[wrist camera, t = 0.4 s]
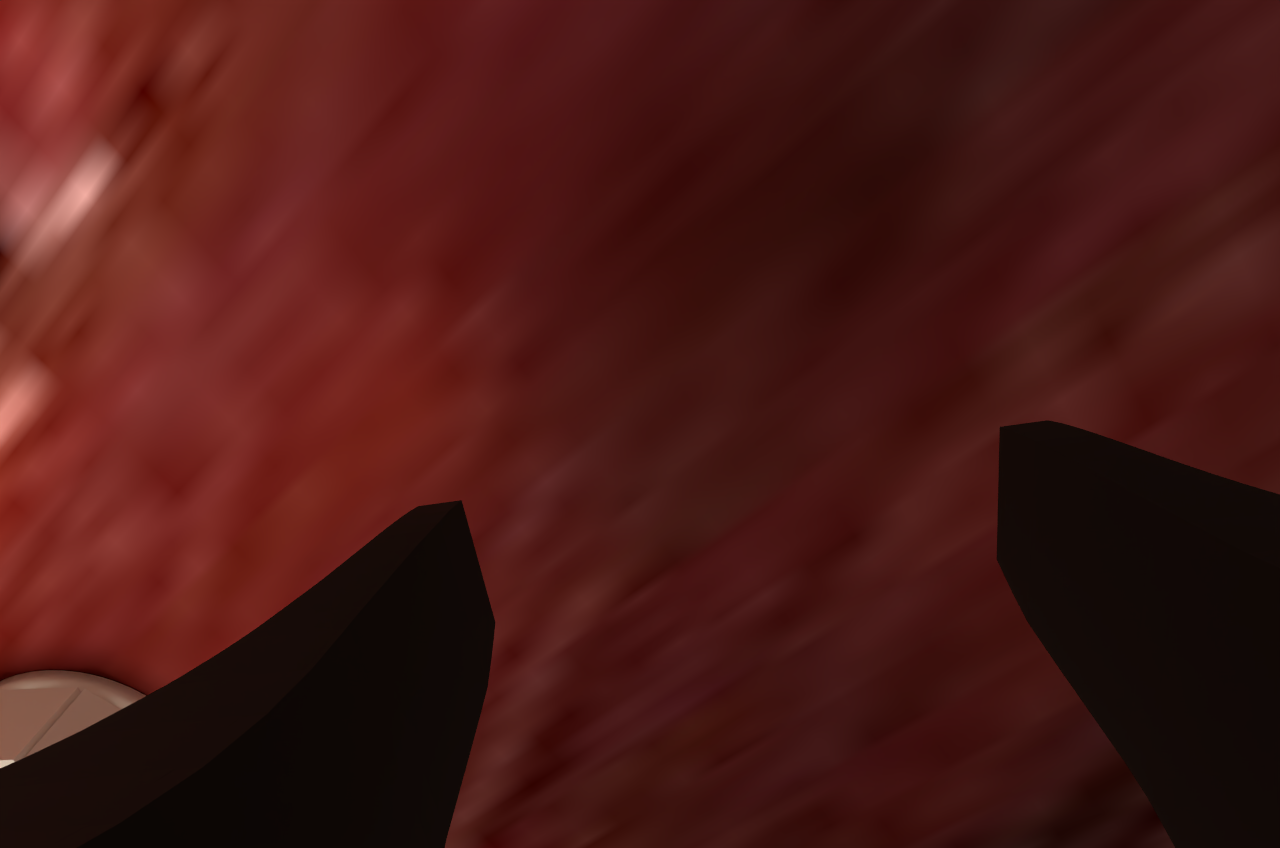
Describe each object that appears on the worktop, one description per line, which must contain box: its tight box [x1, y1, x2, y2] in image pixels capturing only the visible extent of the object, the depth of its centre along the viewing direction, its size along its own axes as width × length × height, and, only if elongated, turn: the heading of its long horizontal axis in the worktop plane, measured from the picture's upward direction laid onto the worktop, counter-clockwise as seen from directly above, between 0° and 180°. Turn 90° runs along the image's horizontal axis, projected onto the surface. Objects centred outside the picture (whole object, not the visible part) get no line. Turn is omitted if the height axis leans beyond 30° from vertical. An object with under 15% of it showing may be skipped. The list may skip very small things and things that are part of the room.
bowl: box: [0, 670, 146, 768], centre depth 25 cm, size 8×8×4 cm
